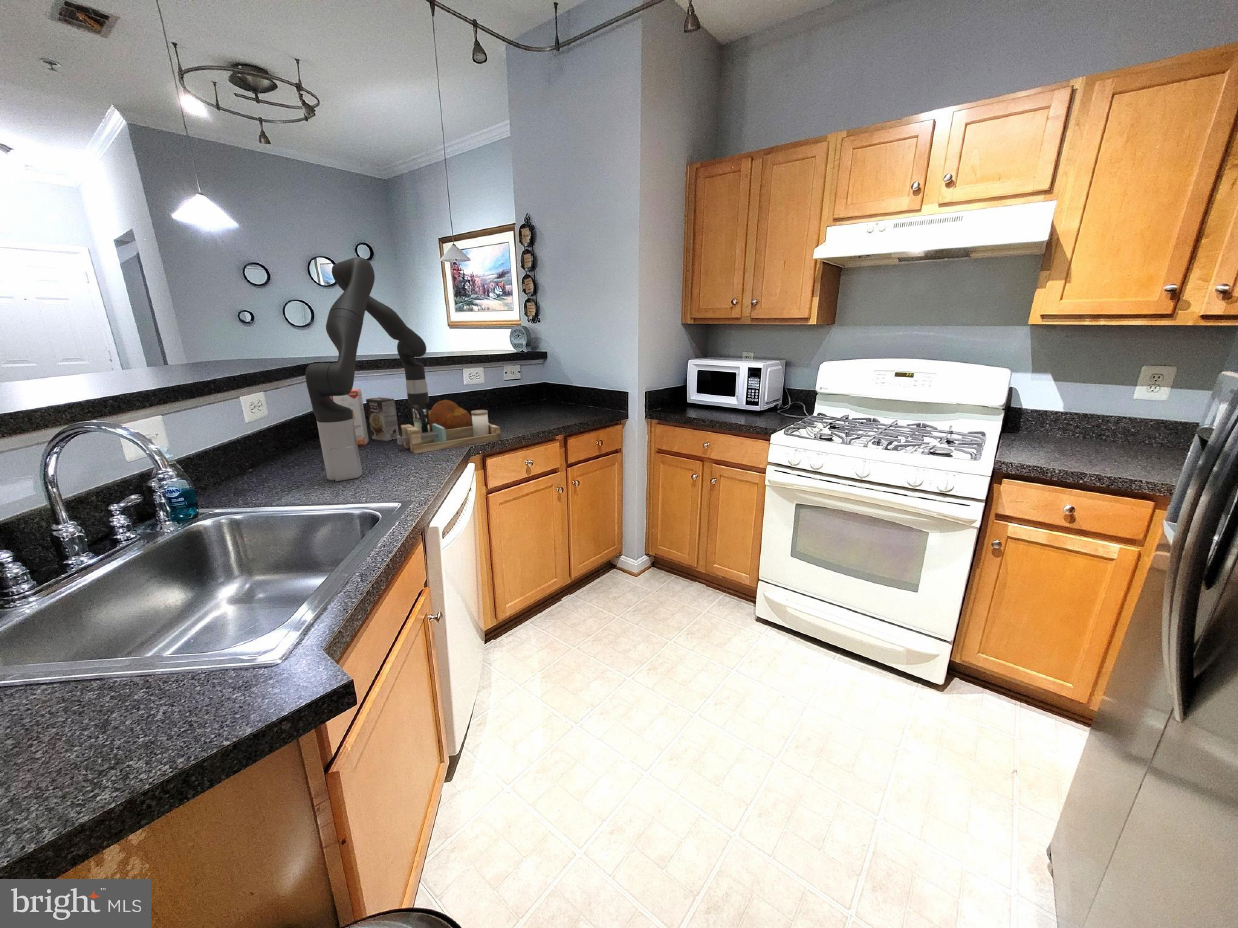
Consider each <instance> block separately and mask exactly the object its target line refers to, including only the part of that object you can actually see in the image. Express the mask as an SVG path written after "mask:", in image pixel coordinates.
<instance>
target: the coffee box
mask: <svg viewBox="0 0 1238 928" xmlns="http://www.w3.org/2000/svg"><path fill="white" fill-rule="evenodd" d="M365 402H366V409H367V414H368V415H367V416H368V421H369V428H370V434H371V439H372V440H377V441H384V442H388V441H389V442H390V441H393V440H397V436H400V433H399V432H400V431H399V426H398V425H399V424H398V416H397V409H396V402H395V398H390V397H371V398H366V399H365ZM392 439H393V440H392Z"/></svg>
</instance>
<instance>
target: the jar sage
mask: <svg viewBox="0 0 1238 928" xmlns="http://www.w3.org/2000/svg"><path fill="white" fill-rule="evenodd" d="M412 418H413V417H412ZM412 420H413V426H414V427H415V428H417V429H419V430H421V433H422V428H421V423H420V421H419V420H418V417H417V418H413V419H412ZM424 422H425V420H424ZM427 426H428V432H430V428H429V424H428V425H427Z"/></svg>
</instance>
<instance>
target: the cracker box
mask: <svg viewBox="0 0 1238 928" xmlns="http://www.w3.org/2000/svg"><path fill="white" fill-rule="evenodd" d="M330 398H331V400H332V401H334V402H335V403H337V404H339V405H341V406H345V407H348V408H350V409H351V410H352V414H353V420H354V426H355V433H356V439H357V445H358V446H365V445H367V444H368V443H369V440H370V439H369V434H368V427H367V421H366V415H365V413H366V412H365V408H364V400H363V397H362V389H361V388H352V390H351V392H350V393H349V394H348V395H344V396H330Z"/></svg>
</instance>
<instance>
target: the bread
mask: <svg viewBox="0 0 1238 928" xmlns="http://www.w3.org/2000/svg"><path fill="white" fill-rule="evenodd" d="M428 414H429V428H430V432H433V429H432V424H437V425H439V426H442V427H444V428H445V430H448V429H456V428H463V427H470V426H472V425H473V424H472V415H471V414H470V413H469V412H468V411H467V410H466V409H464V408H462V407H460V406H459V405H458V404H457V403H455V401H453V400H450V399H442V400H439V401H437V402H436V403H434V405H433V406H432V407H431V409H430V410H428Z"/></svg>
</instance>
